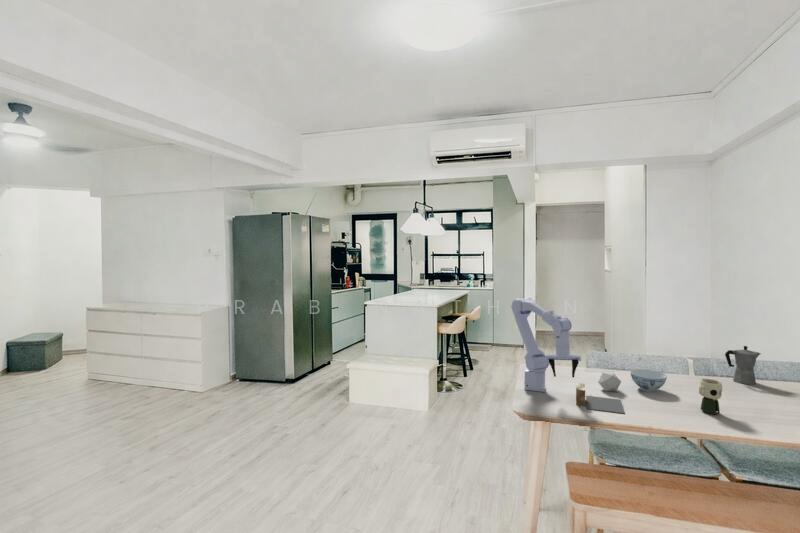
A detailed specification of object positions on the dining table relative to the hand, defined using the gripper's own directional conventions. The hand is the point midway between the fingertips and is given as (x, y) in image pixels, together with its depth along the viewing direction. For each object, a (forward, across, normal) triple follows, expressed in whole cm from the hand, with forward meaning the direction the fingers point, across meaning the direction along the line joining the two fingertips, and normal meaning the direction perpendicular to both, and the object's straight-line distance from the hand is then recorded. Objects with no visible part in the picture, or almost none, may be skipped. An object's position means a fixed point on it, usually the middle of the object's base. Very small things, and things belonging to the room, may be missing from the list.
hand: (563, 376), depth 190 cm
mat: (+11, +16, -1) cm, 19 cm away
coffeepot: (+12, +85, +52) cm, 100 cm away
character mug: (+13, +56, +3) cm, 57 cm away
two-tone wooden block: (+11, +6, 0) cm, 13 cm away
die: (+11, +21, +20) cm, 31 cm away
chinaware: (+11, +38, +26) cm, 47 cm away
